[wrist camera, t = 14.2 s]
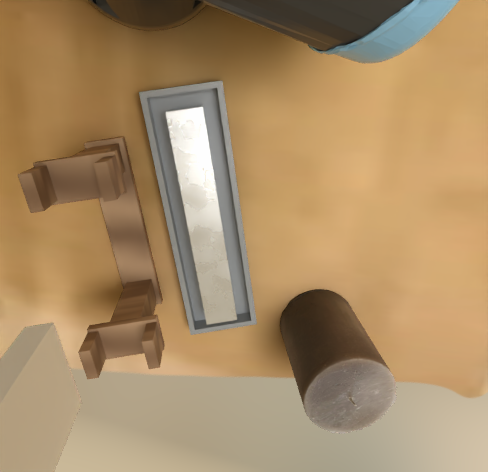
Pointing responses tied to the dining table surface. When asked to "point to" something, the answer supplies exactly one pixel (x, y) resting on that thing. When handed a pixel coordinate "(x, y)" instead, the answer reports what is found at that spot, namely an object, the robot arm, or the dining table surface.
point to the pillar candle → (335, 363)
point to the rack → (122, 239)
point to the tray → (227, 193)
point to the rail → (202, 211)
